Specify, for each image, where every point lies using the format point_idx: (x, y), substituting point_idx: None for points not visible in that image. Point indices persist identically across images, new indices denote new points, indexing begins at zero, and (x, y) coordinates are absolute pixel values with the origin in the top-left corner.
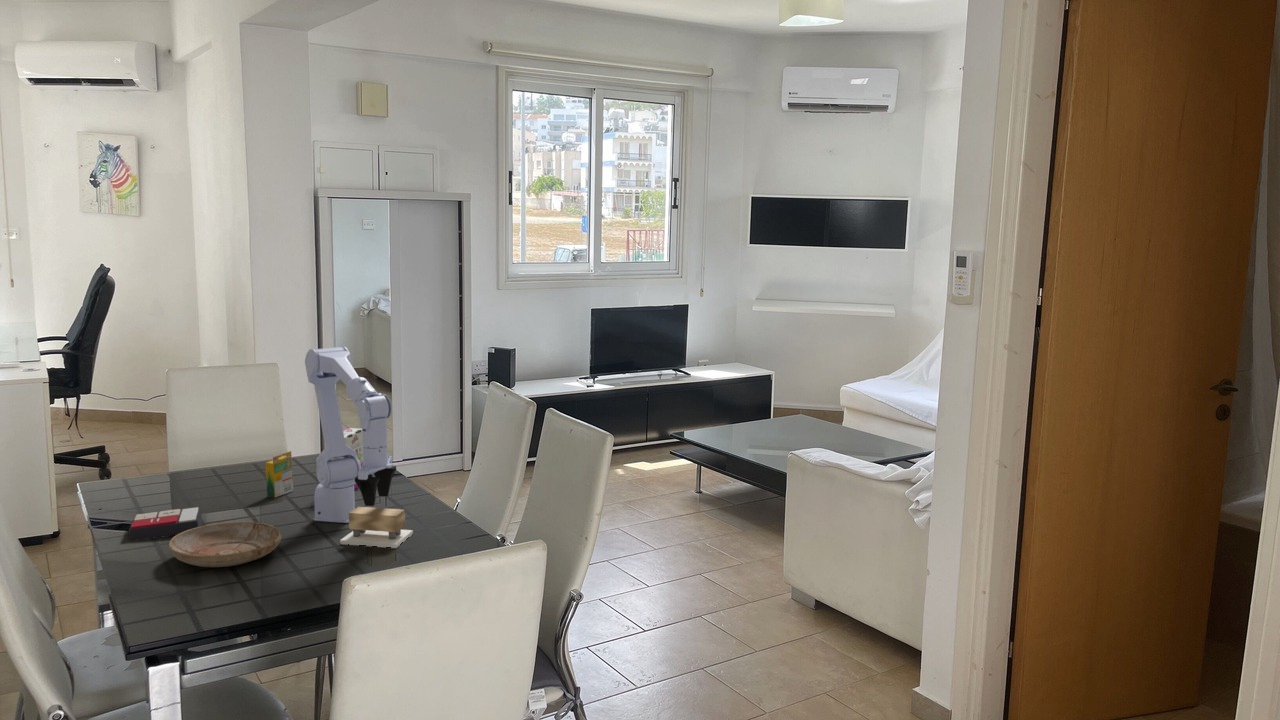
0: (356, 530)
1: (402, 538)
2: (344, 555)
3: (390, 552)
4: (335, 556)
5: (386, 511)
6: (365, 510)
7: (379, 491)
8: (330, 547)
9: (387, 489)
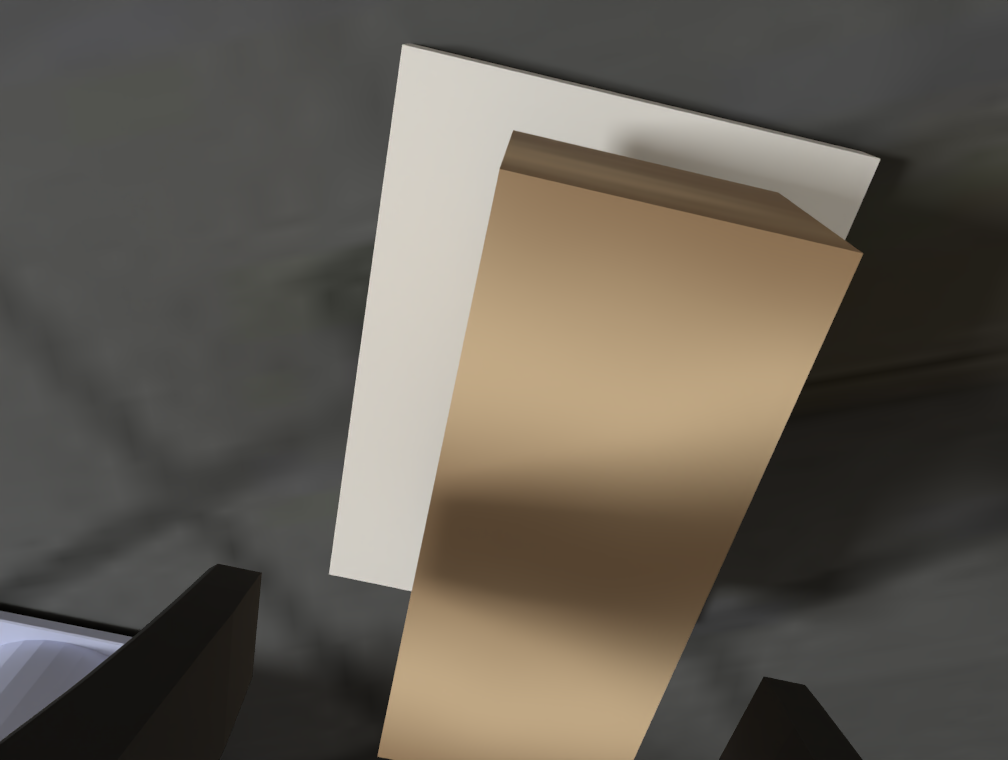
0: None
1: (690, 119)
2: (938, 552)
3: (975, 187)
4: (942, 603)
5: (586, 440)
6: (530, 677)
7: (217, 740)
8: (725, 662)
9: (198, 667)
